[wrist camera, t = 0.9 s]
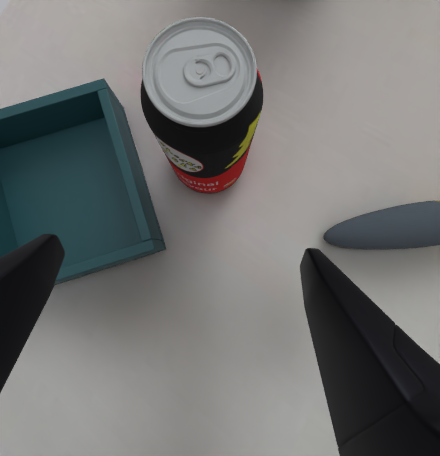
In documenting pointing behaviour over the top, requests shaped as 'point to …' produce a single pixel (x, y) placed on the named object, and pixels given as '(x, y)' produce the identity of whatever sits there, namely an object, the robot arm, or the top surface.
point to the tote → (75, 180)
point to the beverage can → (202, 100)
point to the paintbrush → (390, 228)
